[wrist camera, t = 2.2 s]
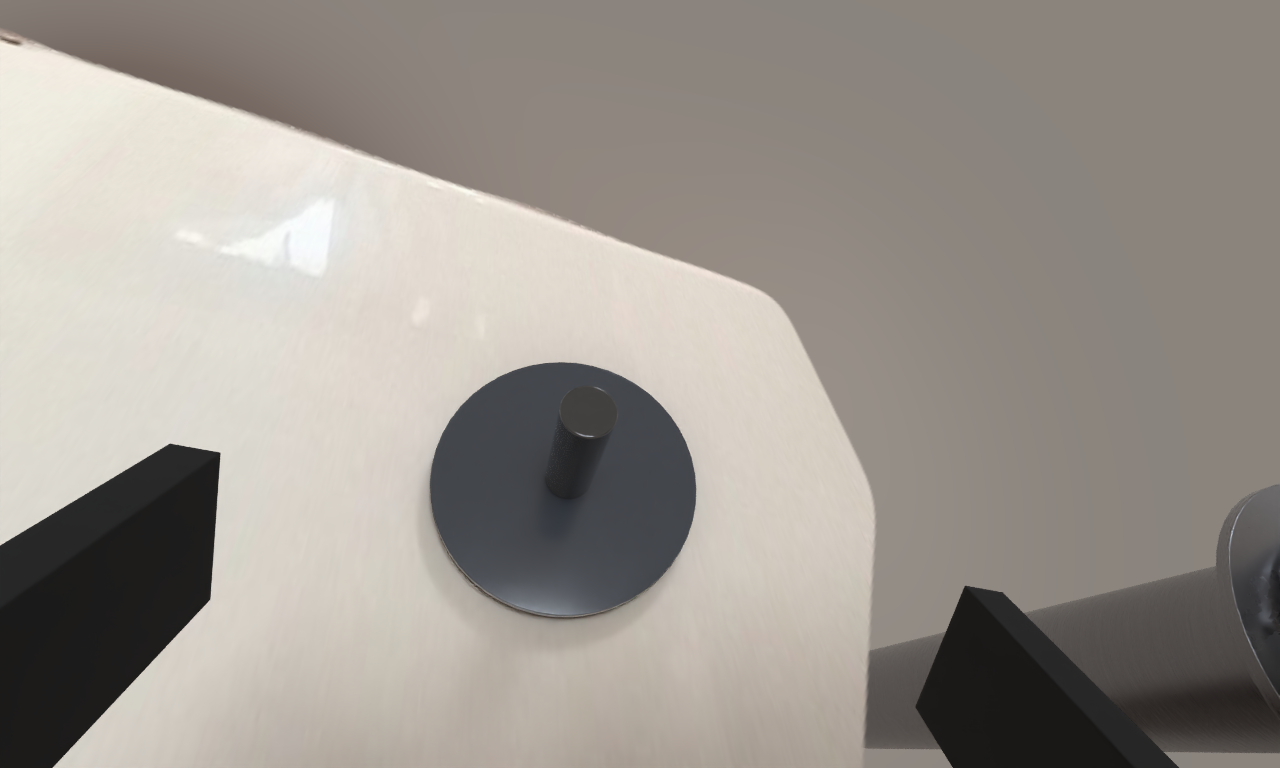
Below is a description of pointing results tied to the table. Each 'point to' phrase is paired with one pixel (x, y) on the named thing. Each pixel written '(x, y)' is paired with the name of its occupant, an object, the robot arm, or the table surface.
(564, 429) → the lid
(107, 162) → the table surface
